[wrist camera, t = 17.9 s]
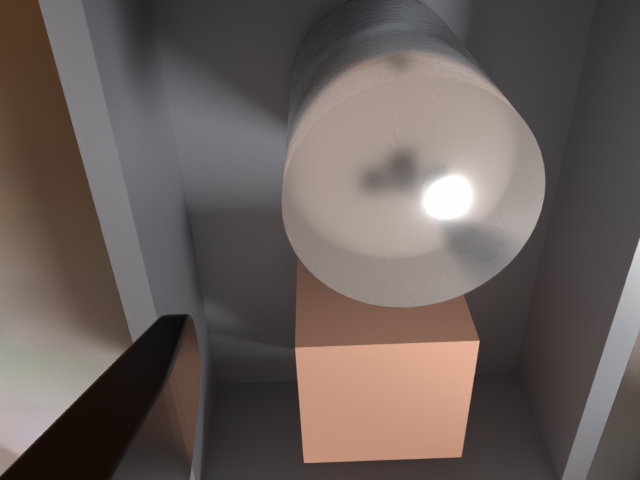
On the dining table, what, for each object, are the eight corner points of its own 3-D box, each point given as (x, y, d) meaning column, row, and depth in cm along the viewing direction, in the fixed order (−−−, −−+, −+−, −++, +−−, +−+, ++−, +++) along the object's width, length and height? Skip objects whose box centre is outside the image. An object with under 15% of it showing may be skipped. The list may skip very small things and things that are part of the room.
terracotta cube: (433, 346, 23) (461, 457, 19) (304, 351, 23) (303, 463, 19) (444, 239, 20) (480, 340, 16) (297, 244, 20) (295, 347, 16)
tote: (526, 371, 25) (579, 497, 20) (203, 383, 25) (179, 511, 20) (638, -114, 15) (793, -96, 10) (110, -96, 15) (19, -70, 10)
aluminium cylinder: (459, 157, 18) (529, 298, 13) (299, 169, 19) (294, 314, 13) (469, -14, 16) (563, 64, 10) (281, 2, 16) (265, 88, 10)
